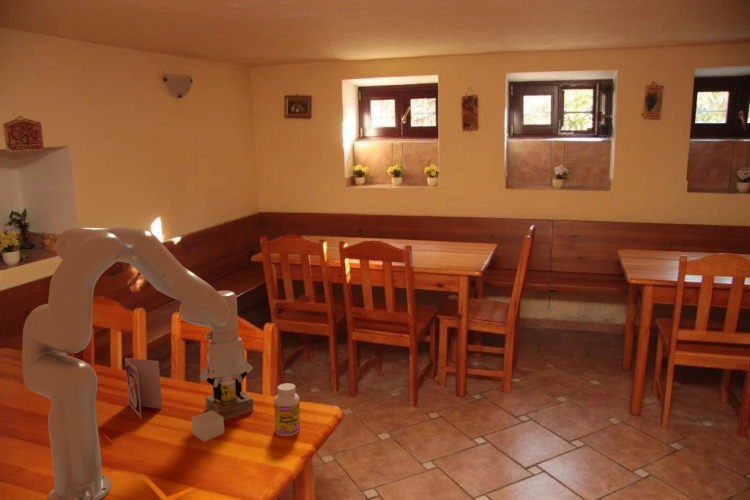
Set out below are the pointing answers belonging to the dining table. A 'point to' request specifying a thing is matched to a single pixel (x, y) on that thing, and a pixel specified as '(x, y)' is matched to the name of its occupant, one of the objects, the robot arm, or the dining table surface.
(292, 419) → the supplement bottle
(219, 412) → the walnut tray
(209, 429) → the beige block
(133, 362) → the greeting card
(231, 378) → the supplement bottle
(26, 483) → the dining table surface
